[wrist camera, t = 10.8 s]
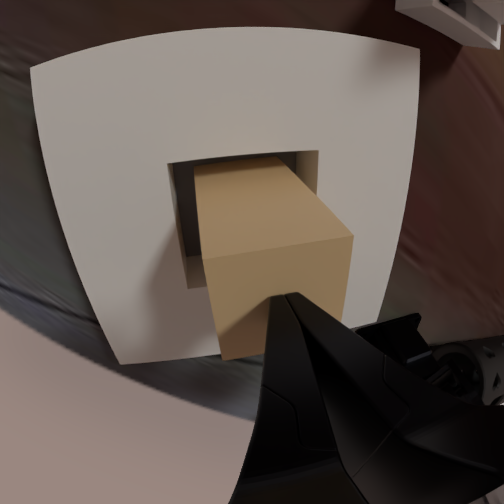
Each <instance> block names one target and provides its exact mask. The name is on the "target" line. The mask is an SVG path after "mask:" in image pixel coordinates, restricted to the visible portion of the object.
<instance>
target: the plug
mask: <svg viewBox="0 0 504 504" xmlns="http://www.w3.org/2000/svg"><path fill="white" fill-rule="evenodd" d="M193 167H194V179H195V191H196V202H197V213H198V223H199V233H200V242H201V251H202V260H203V265H204V271H205V276H206V282H207V287H208V292H209V298H210V303H211V308H212V313H213V318H214V323H215V328H216V332H217V337H218V342H219V347H220V351H221V356H222V361H225V360H231V359H237V358H243V357H248V356H253V355H259V354H264V350H265V340H266V330H267V319H268V309H269V298H270V297H271V296H274V295H280V294H283V295H285V294H286V293H292V292H299V293H301V294H302V295H304V296H305V297H306V298H308V299H309V300H310V301H312V302H313V303H315V304H316V305H317V306H319V307H320V308H322V309H323V310H324V311H326V312H327V313H328V314H330V315H331V316H333V317H334V318H335V319H337V320H338V321H340V322H341V319H342V314H343V308H344V302H345V296H346V290H347V283H348V277H349V270H350V262H351V255H352V247H353V239H354V235H353V234H352V233H351V232H350V231H349V229H348V228H347V227H346V226H345V225H344V224H343V223H342V222H341V221H340V220H339V219H338V218H337V217H336V215H335V214H334V213H333V212H332V211H331V210H330V209H329V208H328V207H327V206H326V205H325V204H324V203H323V202H322V201H321V200H320V199H319V198H318V197H317V196H316V195H315V194H314V193H313V192H312V191H311V190H310V189H309V188H308V187H307V186H306V185H305V184H304V183H303V182H302V181H301V180H300V179H299V178H298V177H297V176H296V175H295V174H294V173H293V172H292V171H291V170H290V169H289V168H288V167H287V166H286V165H285V164H284V163H283V162H282V161H281V160H280V159H279V158H278V157H277V156H272V157H262V158H253V159H244V160H236V161H228V162H220V163H213V164H206V165H199V166H193Z"/></svg>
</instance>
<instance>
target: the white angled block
mask: <svg viewBox="0 0 504 504" xmlns="http://www.w3.org/2000/svg"><path fill="white" fill-rule="evenodd" d="M444 1H446V2H447V3H448V7H447V6H446V5H444V4H442V3H441V2H440V0H396V3H395V11H398V12H400V13H402V14H405V15H407V16H409V17H411V18H413V19H415V20H417V21H419V22H421V23H423V24H425V25H427V26H429V27H431V28H433V29H435V30H437V31H439V32H441V33H443V34H444V35H446V36H448V37H450V38H451V39H453V40H455V41H457V42H458V43H460V44H462V45H464V46H474V47H482V48H489V49H496V50H499V49H500V30H501V24H504V0H444Z"/></svg>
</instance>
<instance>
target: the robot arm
mask: <svg viewBox="0 0 504 504" xmlns="http://www.w3.org/2000/svg"><path fill="white" fill-rule="evenodd" d="M420 321H421V315H420V314H419V313H415V314H412V315H408V316H405V317H401V318H398V319H394V320H391V321H387V322H384V323H380V324H376V325H373V326H369V327H365V328H362V329H360V330H359V331H358V332H357V334H356V333H355V332H353V331H352V330H351V329H349V328H348V327H347V326H345V325H344V324H342V323H341V322H340V321H338V320H337V319H335V318H334V317H333V316H331V315H330V314H328V313H327V312H326V311H324V310H323V309H322V308H320V307H319V306H317V305H316V304H315V303H313V302H312V301H310V300H309V299H308V298H306V297H305V296H304V295H302V294H301V293H299V292H292V293H286V294H285V295H283V294H280V295H274V296H271V297H270V298H269V309H268V319H267V330H266V340H265V350H264V360H263V370H262V380H261V388H260V397H259V404H258V411H257V417H256V421H255V425H254V429H253V433H252V437H251V440H250V443H249V446H248V450H247V453H246V456H245V460H244V463H243V466H242V469H241V472H240V476H239V478H238V481H237V485H236V487H235V489H234V492H233V494H232V497H231V499H230V501H229V503H228V504H504V405H485V404H484V402H483V401H482V399H481V398H480V396H479V395H478V393H477V392H476V390H475V389H474V388H473V386H472V385H471V383H470V382H469V381H468V379H467V378H466V377H465V375H464V374H463V373H462V371H461V370H460V369H459V367H458V366H457V365H456V364H455V362H454V361H453V360H452V358H450V359H449V360H448V361H447V362H446V364H445V365H443V366H442V367H440V365H439V364H438V362H437V361H436V359H435V358H434V357H433V355H432V350H431V349H430V347H429V346H428V344H427V343H426V342H425V340H424V339H423V337H422V336H421V335H420V333H419V332H418V331H417V328H418V325H419V323H420ZM455 383H457V386H456V387H455V388H452V386H453V385H454V384H455Z"/></svg>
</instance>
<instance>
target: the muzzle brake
mask: <svg viewBox="0 0 504 504" xmlns="http://www.w3.org/2000/svg"><path fill="white" fill-rule="evenodd" d="M430 349H431V350H432V355H433V357H434V358H435V359H436V361H437V362H438V364H439V365H440V367H442V366H443V365H445V364H446V362H447V361H448V360H449V359H450V358H452V360H453V361H454V362H455V364H456V365H457V366H458V367H459V369H460V370H461V371H462V373H463V374H464V375H465V377H466V378H467V379H468V381H469V382H470V383H471V385H472V386H473V388H474V389H475V390H476V392H477V393H478V395H479V396H480V398H481V399H482V401H483V402H484V404H485V405H500V404H502V403H504V335H502V336H496V337H490V338H484V339H476V340H469V341H463V342H462V341H460V342H452V343H446V344H444V345H439V346H431V347H430ZM476 369H477V371H476ZM456 386H457V383H455V384H454V385H453V386H452V388H455V387H456Z"/></svg>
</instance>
